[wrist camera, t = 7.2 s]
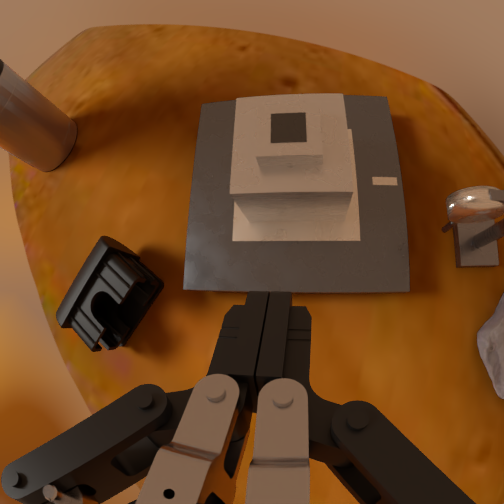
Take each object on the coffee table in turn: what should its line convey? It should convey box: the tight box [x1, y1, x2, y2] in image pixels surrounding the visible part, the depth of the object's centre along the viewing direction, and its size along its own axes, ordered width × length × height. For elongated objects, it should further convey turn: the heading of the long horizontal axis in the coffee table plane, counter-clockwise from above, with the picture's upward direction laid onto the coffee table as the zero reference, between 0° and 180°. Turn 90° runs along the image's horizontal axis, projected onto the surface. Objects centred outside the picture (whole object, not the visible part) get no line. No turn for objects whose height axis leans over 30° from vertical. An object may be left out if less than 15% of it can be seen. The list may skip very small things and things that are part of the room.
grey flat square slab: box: [183, 95, 410, 294], centre depth 29 cm, size 20×20×2 cm
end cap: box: [56, 236, 164, 352], centre depth 30 cm, size 10×7×7 cm
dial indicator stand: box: [442, 186, 504, 268], centre depth 21 cm, size 11×5×14 cm, turn 88°
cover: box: [230, 94, 353, 222], centre depth 25 cm, size 8×8×9 cm
